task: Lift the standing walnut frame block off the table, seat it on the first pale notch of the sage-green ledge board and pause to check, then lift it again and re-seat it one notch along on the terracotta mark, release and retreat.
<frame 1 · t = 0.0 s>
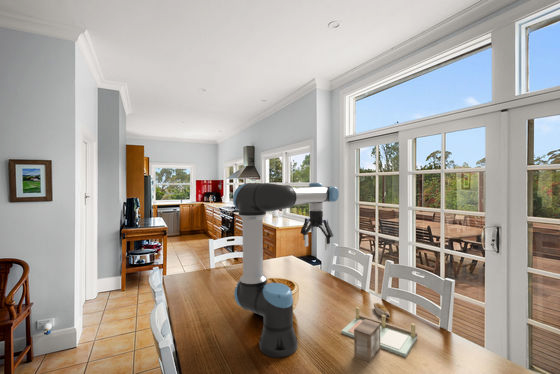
hand: (316, 247, 155), 28 cm above the table, fingers open, 13 cm apart
ledge board: (378, 335, 115), on the table
frame block: (367, 352, 104), on the table
stone: (381, 314, 135), on the table
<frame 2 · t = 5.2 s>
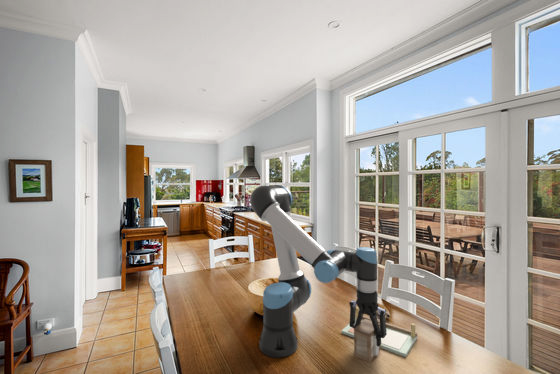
hand: (367, 350, 104), 1 cm above the table, fingers closed on frame block, 6 cm apart
frame block: (367, 352, 104), on the table, touching gripper
everything else where it was.
when the fingers open (3 cm above the table, at t = 15.9 s): frame block stays where it is, resting on ledge board.
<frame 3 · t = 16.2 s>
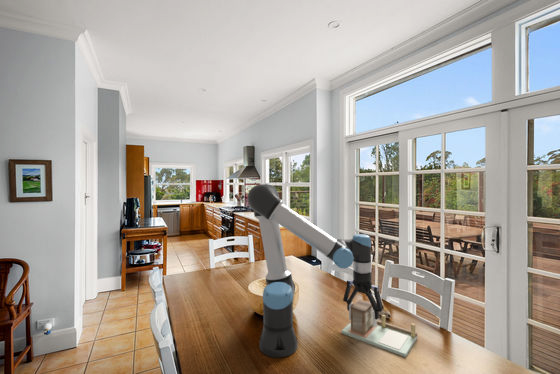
hand: (362, 322, 119), 4 cm above the table, fingers open, 10 cm apart
frame block: (362, 328, 119), point 1 cm above the table, touching ledge board
everything else where it was.
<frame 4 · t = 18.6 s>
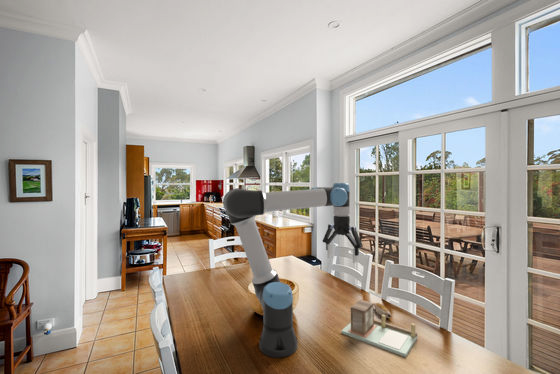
hand: (341, 259, 131), 28 cm above the table, fingers open, 13 cm apart
nothing on the table moved.
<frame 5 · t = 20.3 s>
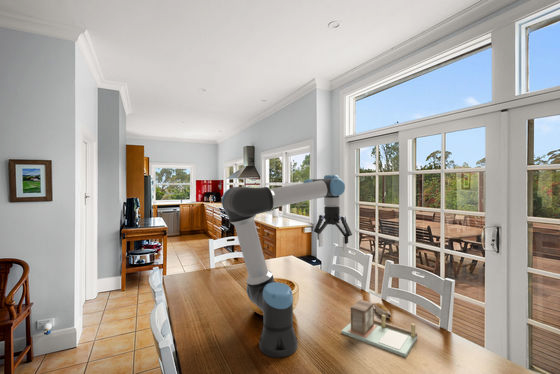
hand: (332, 248, 138), 32 cm above the table, fingers open, 13 cm apart
nothing on the table moved.
at the end: frame block inside the target area (0.1 cm from its centre), point 1.4 cm above the table; frame block tilted 0°; frame block touching ledge board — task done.
